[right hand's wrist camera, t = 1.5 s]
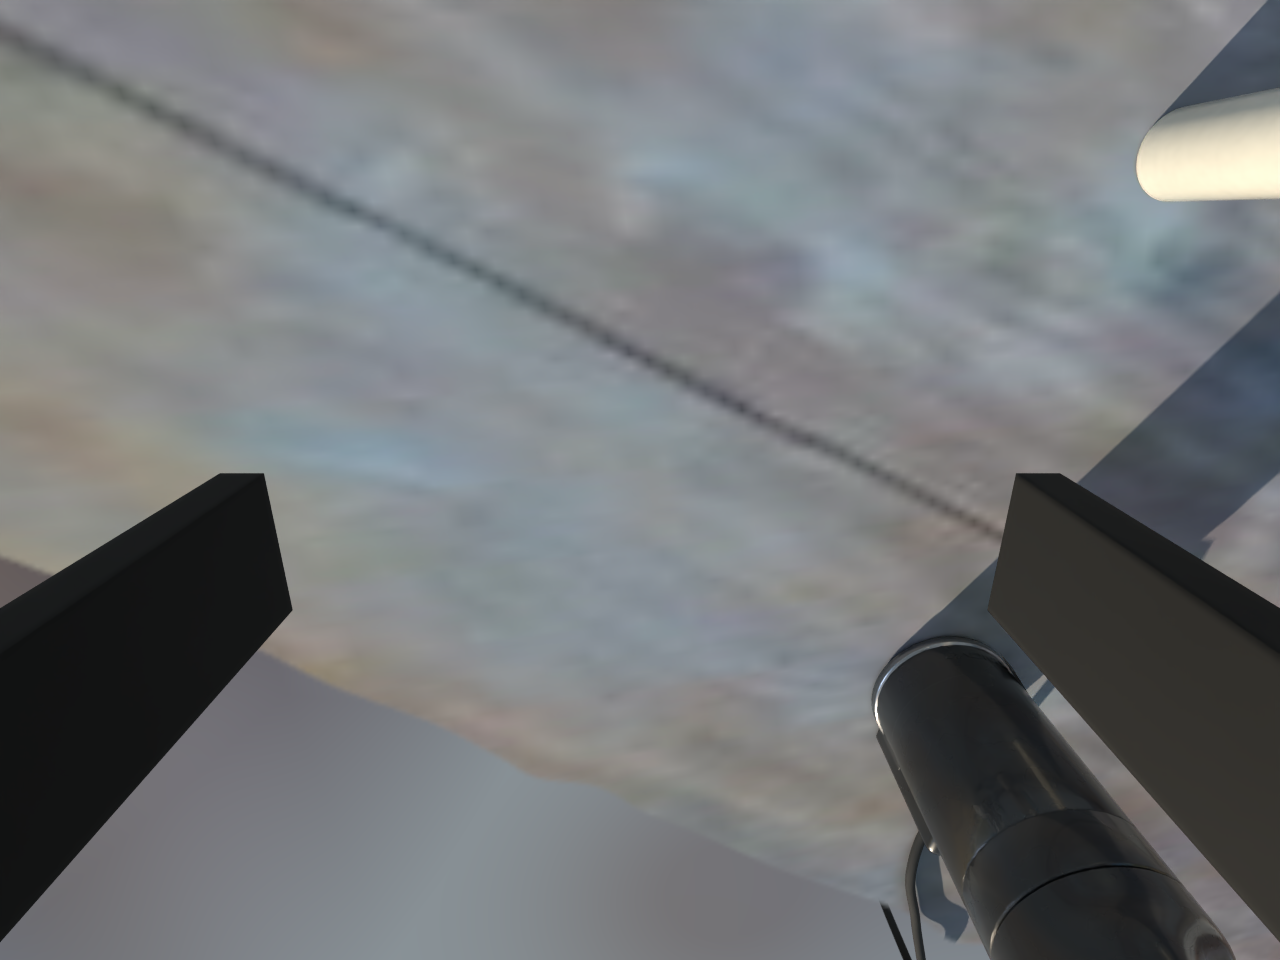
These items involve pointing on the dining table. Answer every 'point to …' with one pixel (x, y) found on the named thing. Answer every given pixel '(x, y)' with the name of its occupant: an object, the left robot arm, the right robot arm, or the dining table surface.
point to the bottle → (1215, 151)
